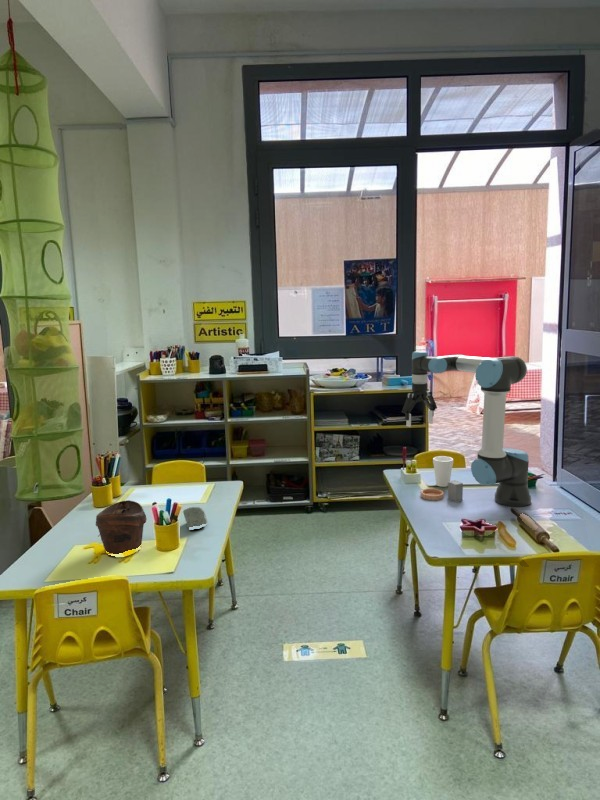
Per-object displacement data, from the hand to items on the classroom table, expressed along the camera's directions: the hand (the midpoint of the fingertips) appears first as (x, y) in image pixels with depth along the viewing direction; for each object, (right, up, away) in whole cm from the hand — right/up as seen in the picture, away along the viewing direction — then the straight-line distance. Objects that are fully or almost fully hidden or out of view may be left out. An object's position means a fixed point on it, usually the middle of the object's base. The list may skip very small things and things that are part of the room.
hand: (419, 424), depth 278 cm
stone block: (+10, -32, -27) cm, 43 cm away
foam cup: (+10, -29, -7) cm, 31 cm away
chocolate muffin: (-126, -44, -69) cm, 150 cm away
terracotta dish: (+1, -32, -22) cm, 39 cm away
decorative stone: (-103, -40, -48) cm, 120 cm away
